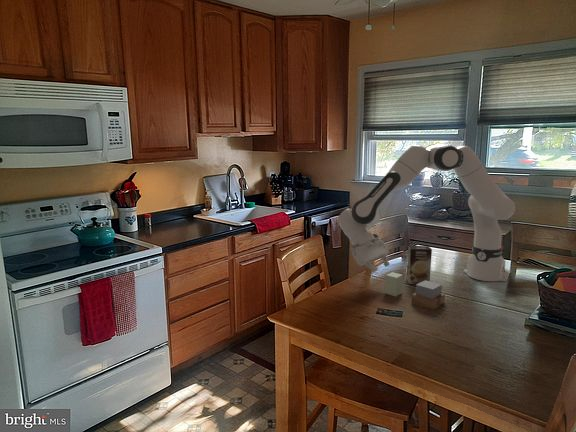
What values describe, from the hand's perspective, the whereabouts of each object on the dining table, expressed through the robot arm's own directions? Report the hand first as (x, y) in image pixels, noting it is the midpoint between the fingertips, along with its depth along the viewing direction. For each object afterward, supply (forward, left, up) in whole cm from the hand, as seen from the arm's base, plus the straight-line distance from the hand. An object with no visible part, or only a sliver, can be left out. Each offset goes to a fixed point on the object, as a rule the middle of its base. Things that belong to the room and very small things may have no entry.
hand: (381, 268), depth 173 cm
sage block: (0, +6, -9) cm, 11 cm away
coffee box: (-19, +7, -10) cm, 22 cm away
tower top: (0, +21, -6) cm, 22 cm away
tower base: (0, +21, -10) cm, 23 cm away
